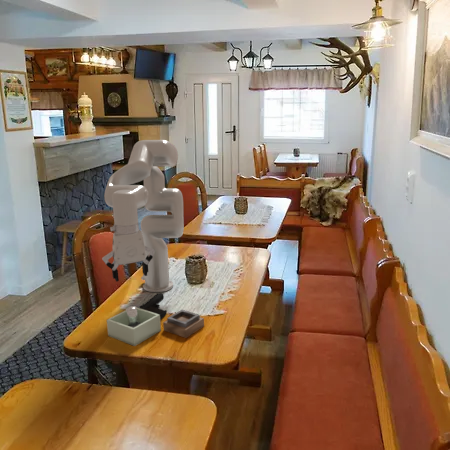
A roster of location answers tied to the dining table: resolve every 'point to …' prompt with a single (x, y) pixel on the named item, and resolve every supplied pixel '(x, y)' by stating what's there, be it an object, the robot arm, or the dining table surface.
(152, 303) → the pistol
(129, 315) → the light bulb
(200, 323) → the brown square base
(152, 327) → the bin
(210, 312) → the dining table surface
